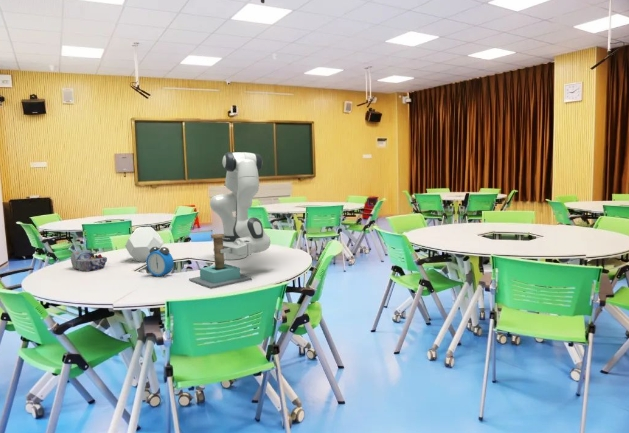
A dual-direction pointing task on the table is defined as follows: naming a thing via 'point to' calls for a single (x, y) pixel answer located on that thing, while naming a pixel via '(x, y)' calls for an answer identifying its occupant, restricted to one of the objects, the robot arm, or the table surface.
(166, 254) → the alarm clock
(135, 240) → the geometric form
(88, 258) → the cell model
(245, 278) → the socket board
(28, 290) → the table surface
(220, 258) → the pin
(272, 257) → the table surface
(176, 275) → the table surface
